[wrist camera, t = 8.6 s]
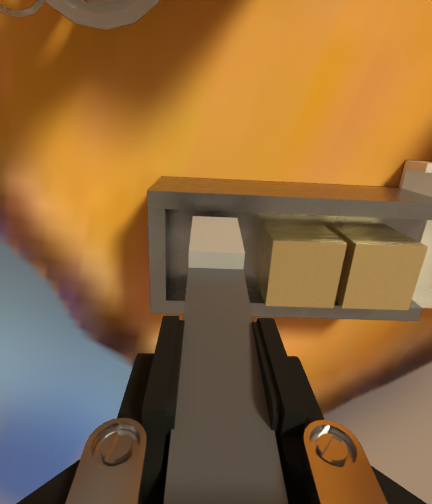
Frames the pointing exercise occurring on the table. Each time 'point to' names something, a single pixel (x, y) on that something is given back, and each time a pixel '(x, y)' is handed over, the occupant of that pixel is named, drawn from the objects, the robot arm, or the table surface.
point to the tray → (427, 183)
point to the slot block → (249, 218)
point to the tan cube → (299, 264)
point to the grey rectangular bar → (220, 383)
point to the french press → (93, 11)
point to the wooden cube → (378, 267)
